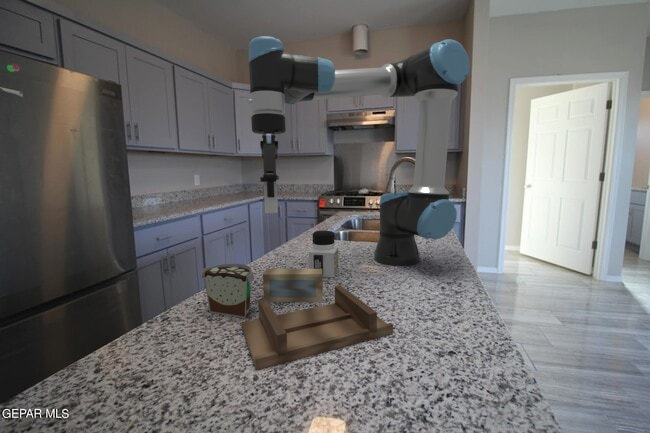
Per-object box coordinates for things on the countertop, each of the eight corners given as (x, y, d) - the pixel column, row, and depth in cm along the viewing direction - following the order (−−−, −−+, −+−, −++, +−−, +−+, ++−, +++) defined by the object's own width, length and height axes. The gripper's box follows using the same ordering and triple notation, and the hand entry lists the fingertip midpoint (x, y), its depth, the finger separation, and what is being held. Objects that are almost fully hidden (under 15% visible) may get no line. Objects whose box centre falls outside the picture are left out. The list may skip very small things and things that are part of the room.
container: (334, 278, 90) (333, 234, 88) (308, 276, 92) (307, 233, 90) (338, 269, 98) (338, 228, 96) (314, 268, 99) (313, 228, 97)
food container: (266, 307, 72) (264, 265, 71) (251, 319, 66) (249, 273, 65) (221, 300, 76) (218, 260, 75) (204, 311, 70) (200, 268, 69)
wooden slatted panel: (354, 303, 73) (354, 282, 72) (392, 333, 59) (393, 308, 59) (241, 326, 63) (240, 303, 62) (256, 369, 49) (254, 340, 49)
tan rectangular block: (323, 295, 79) (322, 268, 77) (322, 302, 74) (321, 274, 73) (267, 295, 79) (266, 268, 78) (264, 302, 75) (262, 274, 74)
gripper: (254, 122, 81) (258, 203, 85) (246, 102, 57) (251, 217, 60) (283, 123, 83) (286, 202, 86) (287, 103, 58) (290, 215, 61)
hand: (271, 209), depth 73 cm, fingers open, 13 cm apart
